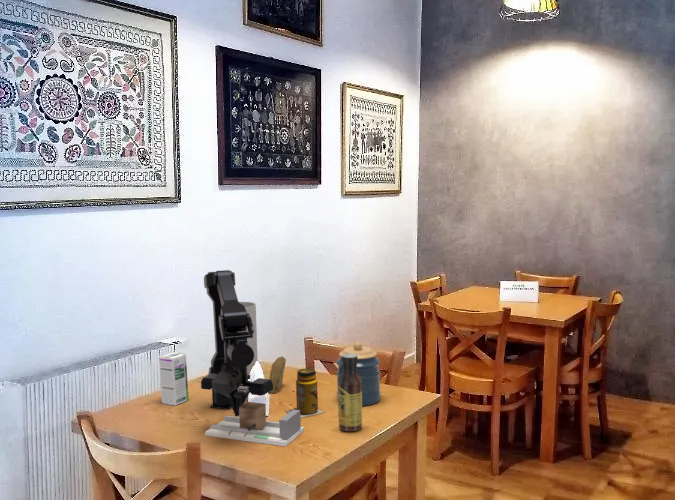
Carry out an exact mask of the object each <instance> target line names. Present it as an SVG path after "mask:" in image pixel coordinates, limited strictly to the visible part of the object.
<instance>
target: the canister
mask: <svg viewBox="0 0 675 500" xmlns="http://www.w3.org/2000/svg"><path fill="white" fill-rule="evenodd" d="M348 353H352V354H356V355H357V357H358V360H357V373H358V375H359V376H360V378H361V383H362V384H361V389H362V407H365V406H371V405H374V404H377V403H378V402H379V401H380V397H381V387H380V384H381V381H380V380H381V379H380V378H381V377H380V374H381V370H380V369H379V364H380V363H381V361H380V359H379V358H378V357H376V356H377V355H378V352H377V351H376V350H374V349H373V348H371V347H368V346H364V345H363V344H362V342H360V341H356V342H354V343H353V346H348V347H345V348H344V349H343V350H341V351H340V352H339V353H338V356H339V358H338V359H337V360H336V364H337V366H338V367H337V371H336V376H337V377H336V378H337V382H336V383H337V387H336V389H338V383H339V380H340V377H341V374H342V371H343V361H342V355H344V354H348ZM336 394H337V395H336V397H337V398H338V390H337V391H336Z"/></svg>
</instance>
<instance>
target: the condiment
mask: <svg viewBox="0 0 675 500" xmlns="http://www.w3.org/2000/svg"><path fill="white" fill-rule="evenodd" d="M316 373H317V371H316V370H315V369H314V368H300V369H298V370H297V372H296V374H297V375H296V380H295V388H296V389H295V393H296V394H295V396H296V397H295V398H296V399H295V400H296V408H292V409H285V412H286V413H287V414H288V413H289V412H291V411H292V410H300V419H301V418H305V417H310V416H314V415H319V414H322V413H324V411H323V410H320V409H319V407H318V406H319V405H318V403H319V402H318V401H319V399H318V398H319V397H318V380H317V375H316Z"/></svg>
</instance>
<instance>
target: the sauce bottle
mask: <svg viewBox="0 0 675 500" xmlns="http://www.w3.org/2000/svg"><path fill="white" fill-rule="evenodd" d="M357 360H358V357H357V355H356V354H352V353H348V354H344V355H342V361H343V371H342V374H341V377H340V380H339V383H338V388H337V391H338V397H337V400H338V404H337V405H338V406H337V407H338V411H337V412H338V427H339V429H340V430H342V431H343V432H357V431H360V430H361V429H362V426H363V406H362V389H361V384H362V383H361V378H360V376H359V375H358V373H357Z"/></svg>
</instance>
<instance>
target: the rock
mask: <svg viewBox="0 0 675 500" xmlns="http://www.w3.org/2000/svg"><path fill="white" fill-rule="evenodd" d="M286 361H287V358H285V357H284V356H279V357H277V358H276V359H275V360H274V362H273V363H272V365H271V369H270V373H269V376H268V379H270V380H271V381H272V383H273V390H271V391H270V392H268V393H271V394H276V393H277V392H278V390H279V389H280V388H281V387H282V384H283V379H284V373H285V367H286Z"/></svg>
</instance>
